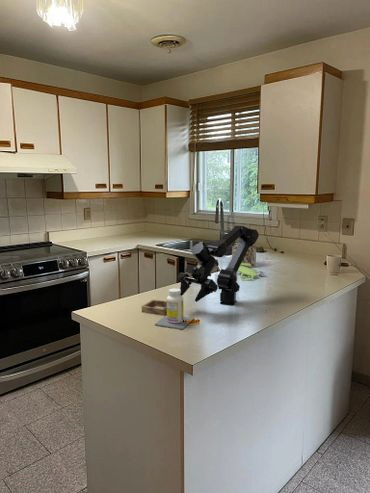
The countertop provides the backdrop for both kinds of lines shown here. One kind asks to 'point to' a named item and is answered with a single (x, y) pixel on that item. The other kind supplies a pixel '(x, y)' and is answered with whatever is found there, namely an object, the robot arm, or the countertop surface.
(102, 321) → the countertop surface
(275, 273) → the countertop surface
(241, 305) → the countertop surface
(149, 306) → the walnut holder
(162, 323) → the slate mat
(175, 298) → the supplement bottle
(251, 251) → the decorative jar
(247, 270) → the figurine
